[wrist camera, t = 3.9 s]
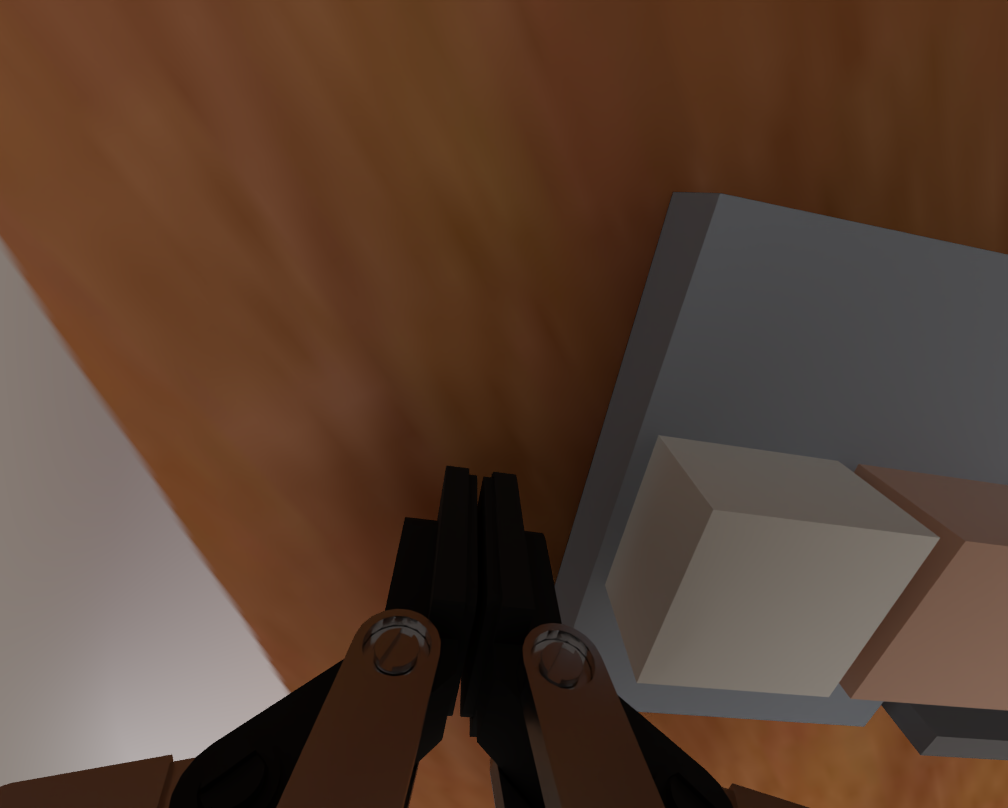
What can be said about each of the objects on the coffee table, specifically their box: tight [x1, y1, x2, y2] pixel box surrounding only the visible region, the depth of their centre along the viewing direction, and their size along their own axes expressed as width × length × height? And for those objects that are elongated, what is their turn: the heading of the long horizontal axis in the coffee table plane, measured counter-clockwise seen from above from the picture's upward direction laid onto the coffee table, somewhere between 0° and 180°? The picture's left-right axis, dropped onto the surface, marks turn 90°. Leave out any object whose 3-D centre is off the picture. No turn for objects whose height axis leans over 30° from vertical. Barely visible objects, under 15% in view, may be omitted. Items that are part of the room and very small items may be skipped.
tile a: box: [605, 435, 940, 697], centre depth 12 cm, size 5×5×3 cm
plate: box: [555, 192, 1008, 727], centre depth 15 cm, size 16×12×2 cm
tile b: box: [839, 464, 1008, 710], centre depth 12 cm, size 5×5×3 cm
